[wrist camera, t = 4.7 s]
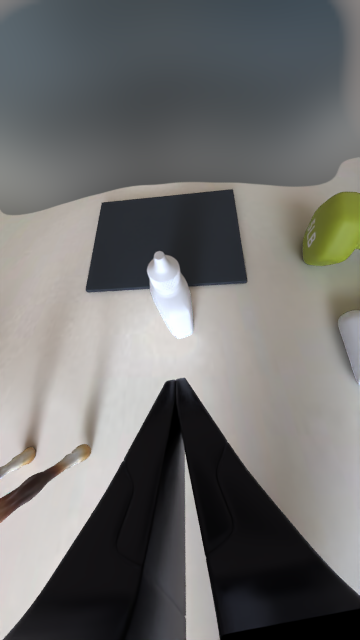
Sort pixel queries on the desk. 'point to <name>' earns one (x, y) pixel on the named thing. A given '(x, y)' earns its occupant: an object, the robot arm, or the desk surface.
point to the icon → (351, 339)
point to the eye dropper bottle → (171, 294)
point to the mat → (167, 240)
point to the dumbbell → (333, 230)
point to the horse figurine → (35, 477)
